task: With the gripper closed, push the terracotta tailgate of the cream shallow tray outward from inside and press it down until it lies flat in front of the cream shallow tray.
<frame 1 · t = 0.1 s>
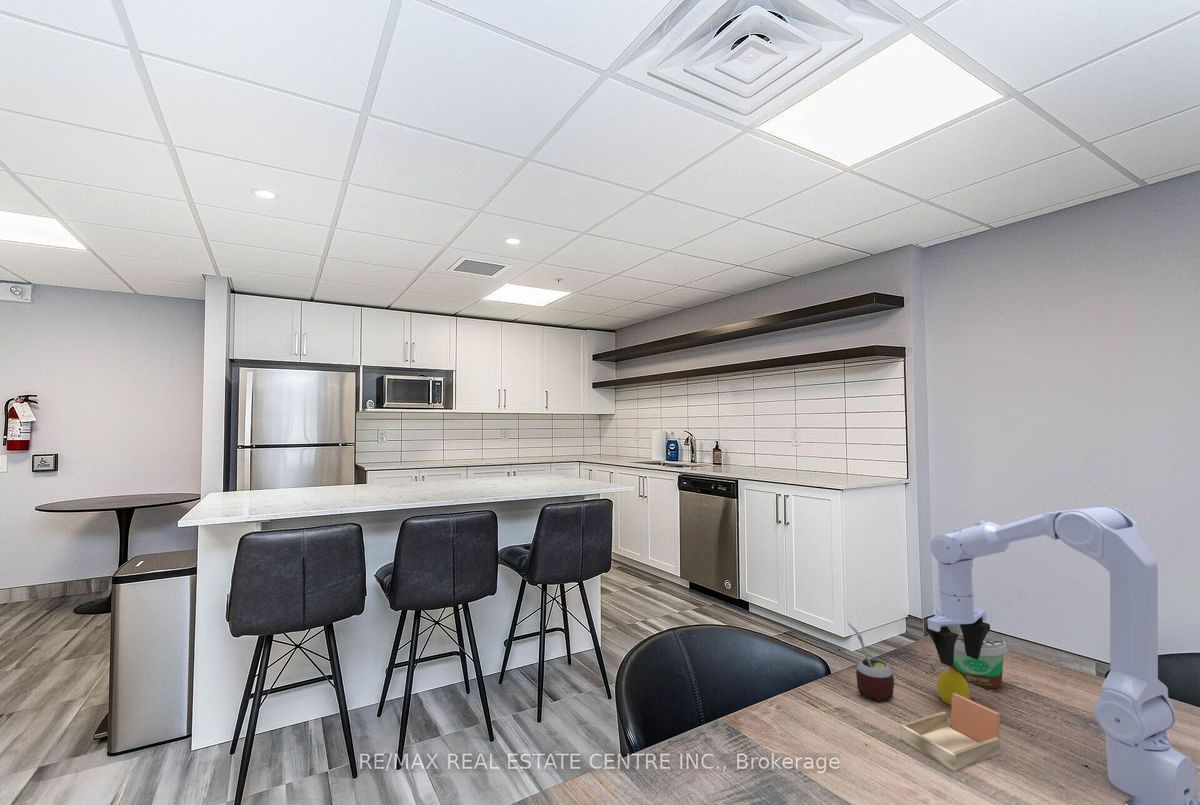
hand: (959, 660, 111), 10 cm above the table, tool pointing down, fingers open, 7 cm apart
food container: (980, 687, 120), on the table
mate gourd: (873, 702, 115), on the table
lemon: (954, 710, 111), on the table
cream shallow tray: (950, 754, 96), on the table
tailgate: (974, 720, 99), point 4 cm above the table, hinge at 8.0°
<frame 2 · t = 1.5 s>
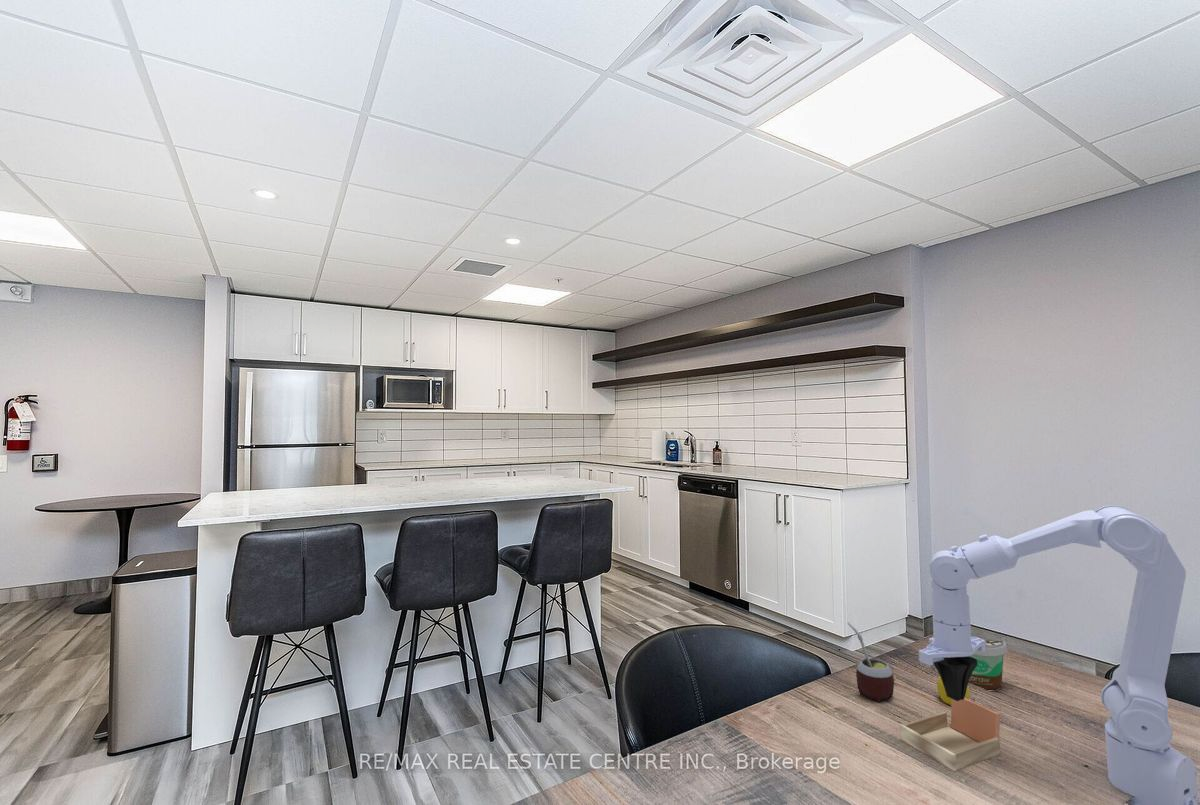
hand: (955, 697, 98), 9 cm above the table, tool pointing down, fingers closed
nothing on the table moved.
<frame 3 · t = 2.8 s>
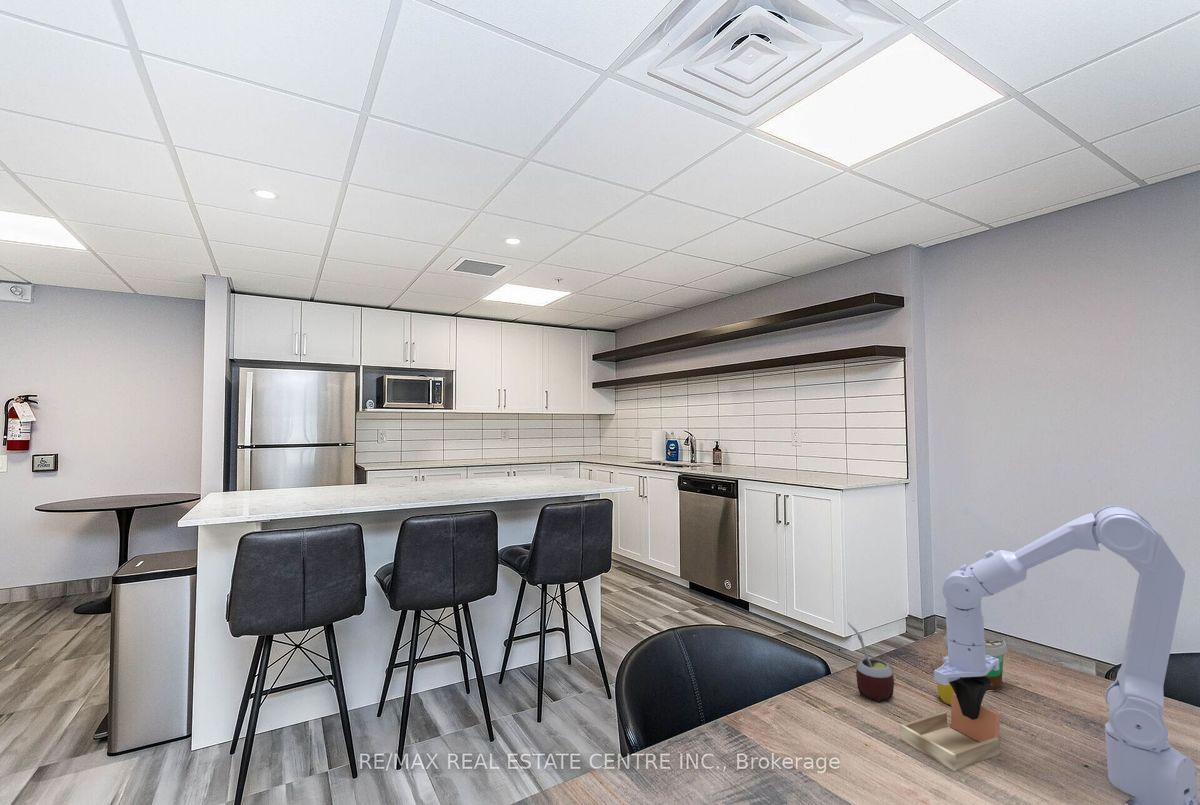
hand: (969, 716, 99), 5 cm above the table, tool pointing down, fingers closed, pressing on tailgate
tailgate: (974, 720, 99), point 4 cm above the table, hinge at 8.0°, touching gripper
everything else where it was.
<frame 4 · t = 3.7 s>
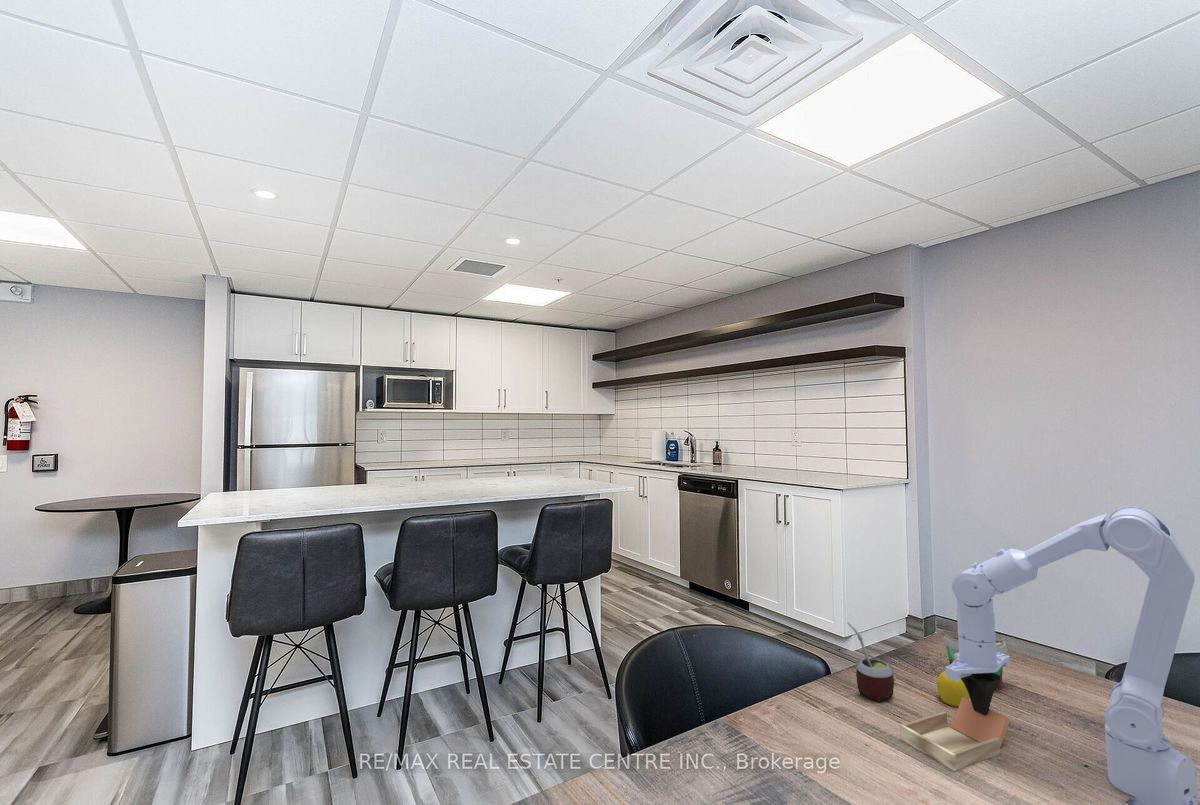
hand: (980, 712, 100), 5 cm above the table, tool pointing down, fingers closed, pressing on tailgate
tailgate: (979, 723, 100), point 4 cm above the table, hinge at 37.5°, touching gripper
everything else where it was.
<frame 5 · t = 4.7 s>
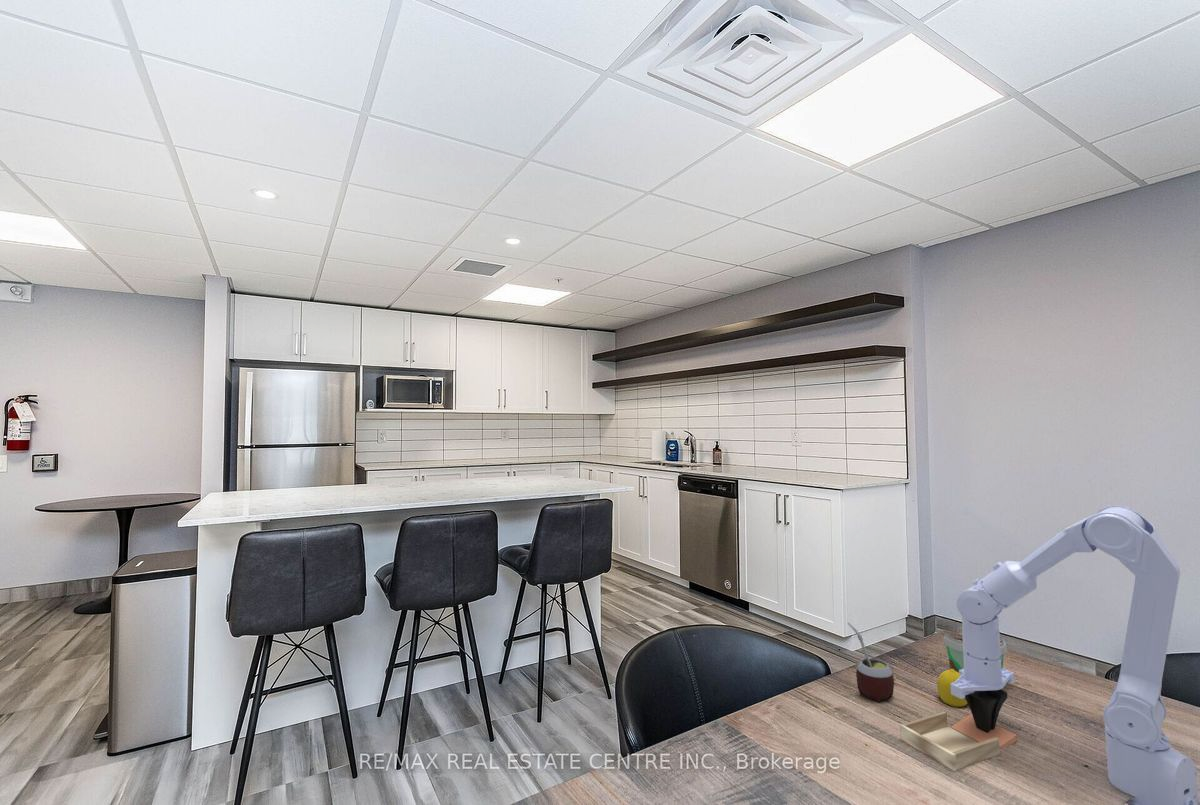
hand: (985, 729, 100), 2 cm above the table, tool pointing down, fingers closed, pressing on tailgate
tailgate: (983, 733, 100), point 2 cm above the table, hinge at 78.0°, touching gripper
everything else where it was.
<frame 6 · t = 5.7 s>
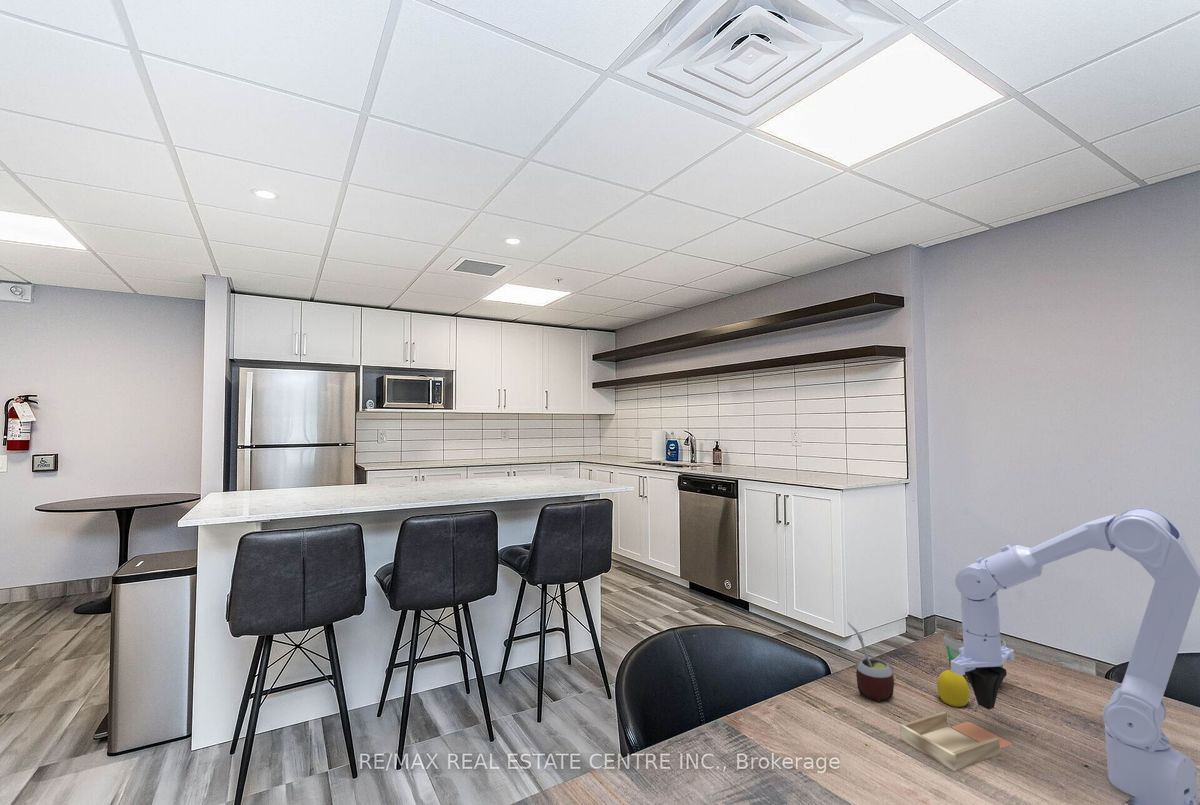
hand: (985, 706, 100), 6 cm above the table, tool pointing down, fingers closed
tailgate: (983, 737, 100), point 1 cm above the table, hinge at 90.6°
everything else where it was.
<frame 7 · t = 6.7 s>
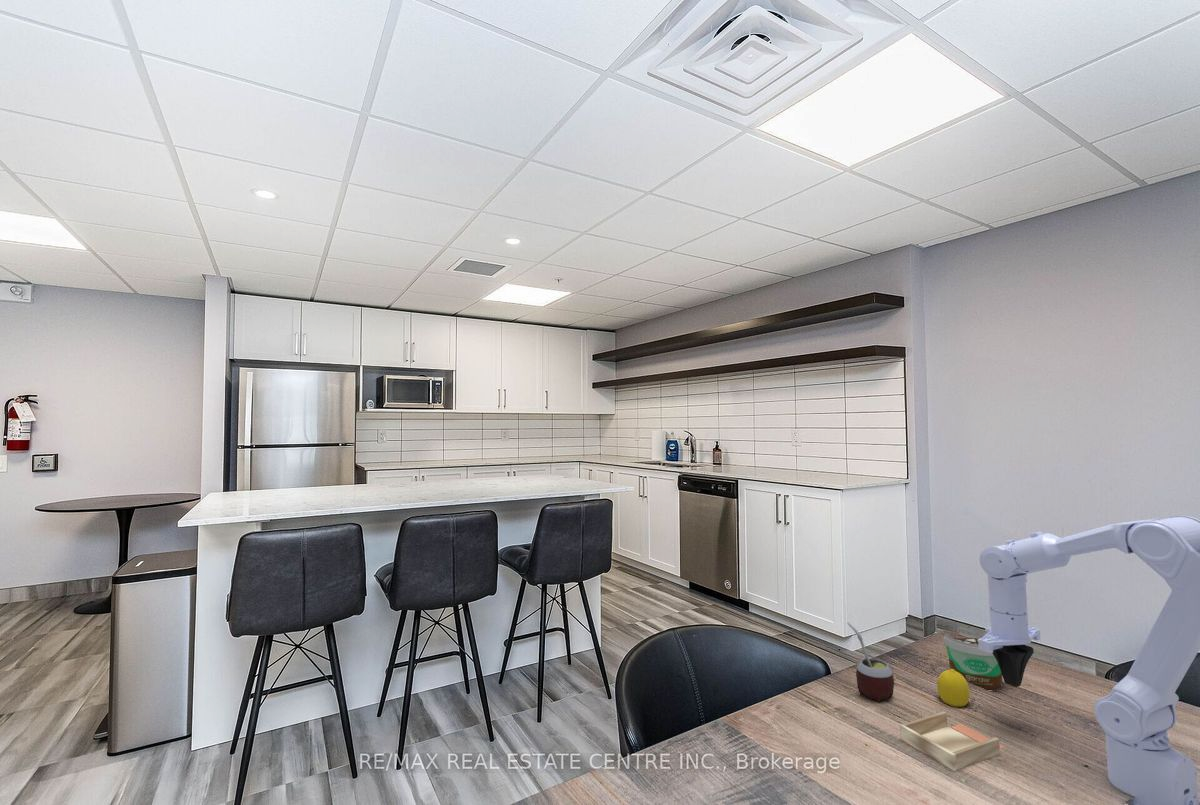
hand: (1012, 684, 102), 9 cm above the table, tool pointing down, fingers closed
tailgate: (983, 737, 100), point 1 cm above the table, hinge at 91.0°
everything else where it was.
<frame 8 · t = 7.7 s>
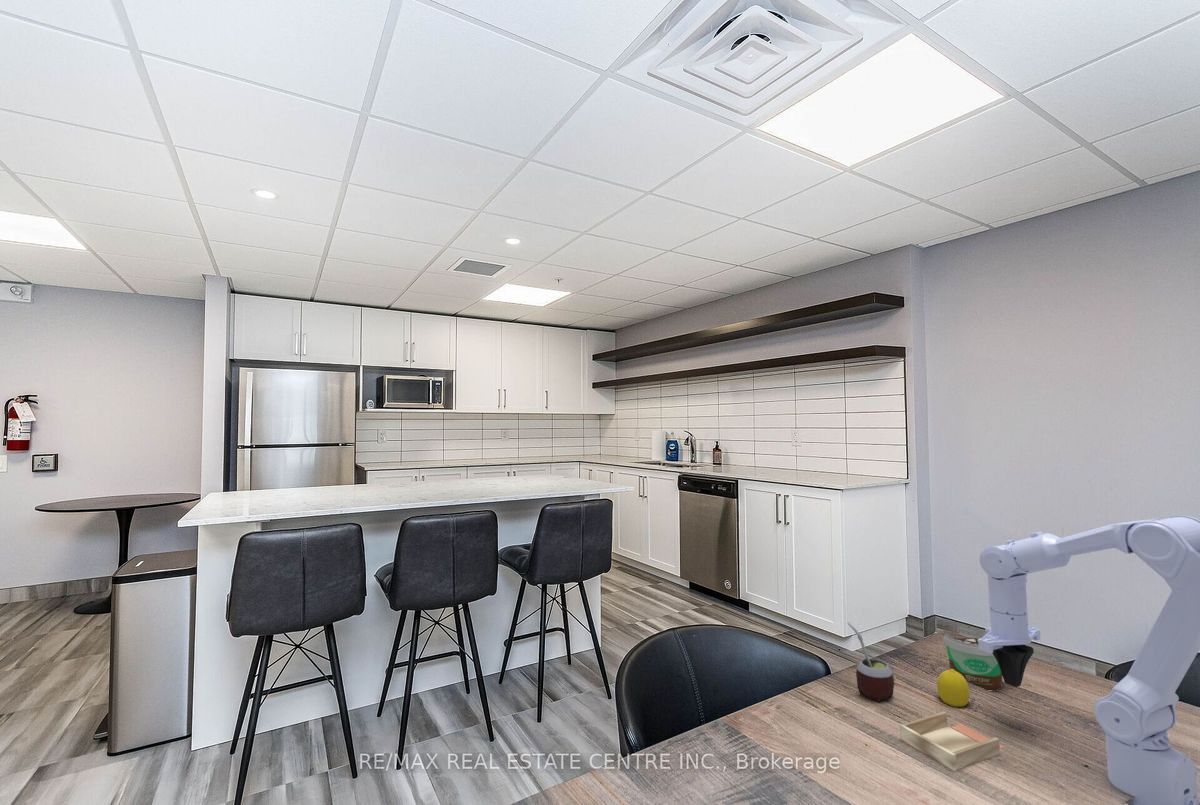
hand: (1012, 684, 102), 9 cm above the table, tool pointing down, fingers closed
nothing on the table moved.
at the end: tailgate at +91° (first picture: +8°); lemon moved 0.2 cm from its start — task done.
